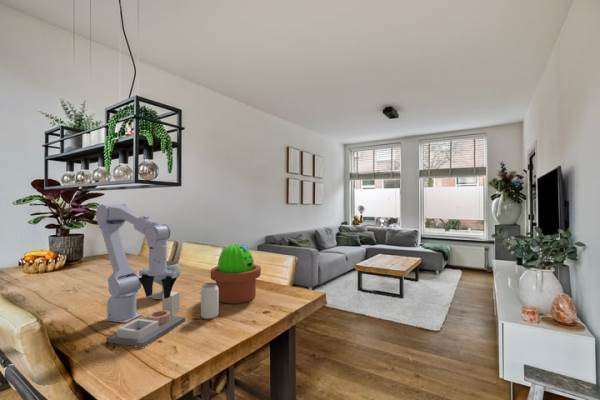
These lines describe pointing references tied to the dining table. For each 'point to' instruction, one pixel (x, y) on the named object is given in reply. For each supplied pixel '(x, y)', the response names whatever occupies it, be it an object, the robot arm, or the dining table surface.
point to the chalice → (170, 266)
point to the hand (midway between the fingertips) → (158, 296)
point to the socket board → (146, 329)
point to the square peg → (172, 303)
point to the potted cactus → (236, 275)
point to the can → (209, 301)
